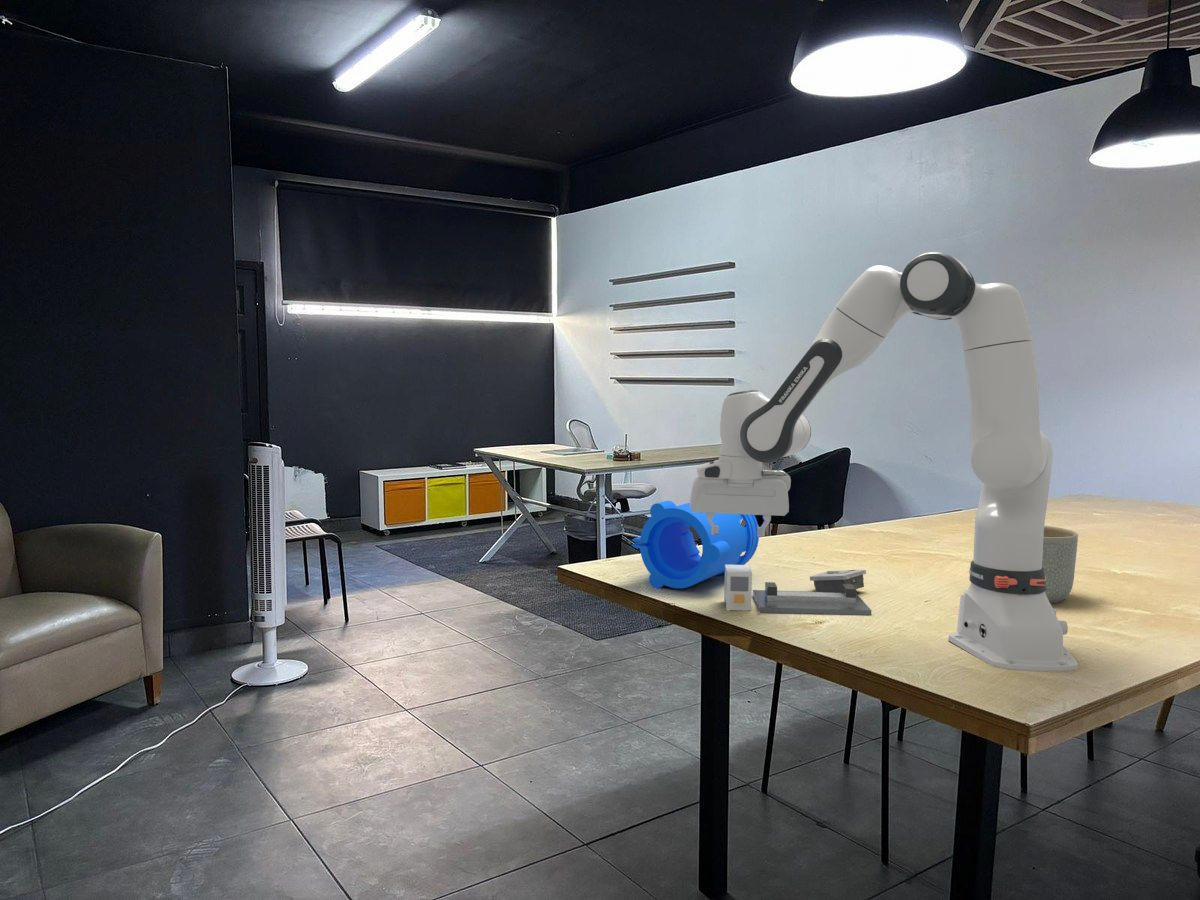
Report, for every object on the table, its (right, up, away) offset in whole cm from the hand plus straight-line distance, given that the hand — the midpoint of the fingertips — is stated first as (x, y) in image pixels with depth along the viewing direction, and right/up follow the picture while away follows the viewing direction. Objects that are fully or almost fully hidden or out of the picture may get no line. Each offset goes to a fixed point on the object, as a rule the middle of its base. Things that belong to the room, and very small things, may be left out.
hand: (737, 535), depth 178 cm
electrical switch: (+28, -14, +15) cm, 34 cm away
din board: (+15, -15, +1) cm, 21 cm away
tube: (-5, -13, +24) cm, 28 cm away
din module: (0, -15, +1) cm, 15 cm away
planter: (+65, -15, +9) cm, 67 cm away
